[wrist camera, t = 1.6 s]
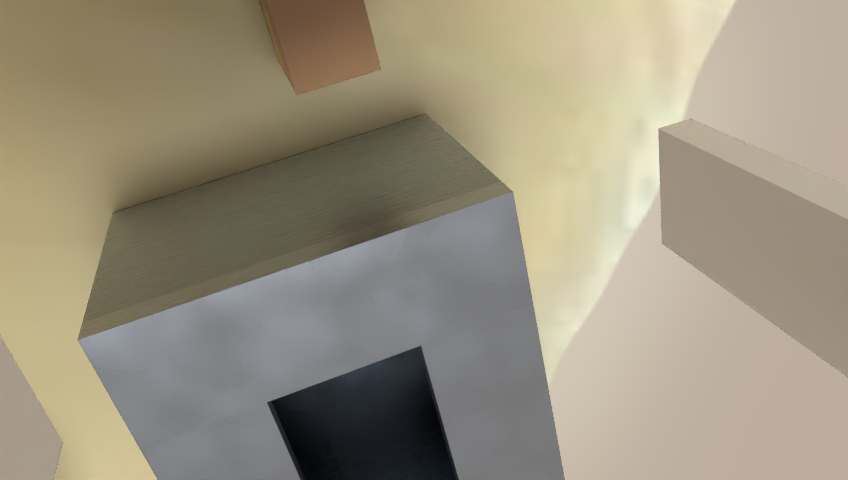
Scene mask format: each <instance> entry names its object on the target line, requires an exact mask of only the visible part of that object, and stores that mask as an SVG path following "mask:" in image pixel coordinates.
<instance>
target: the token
mask: <svg viewBox="0 0 848 480" xmlns="http://www.w3.org/2000/svg"><path fill="white" fill-rule="evenodd" d="M259 2H260V5H261V8H262V11H263V14H264V17H265V20H266V23H267V27H268V30H269V33H270V36H271V39H272V42H273V45H274V48H275V51H276V54H277V57H278V60H279V63H280V65H281V66H282V68H283V70H284V72H285V74H286V76H287V78H288V79H289V81H290V83H291V85H292V87H293V89H294V91H295V92H296V94H297V95H298V94H302V93H305V92H308V91H311V90H315V89H318V88H321V87H325V86H328V85H331V84H334V83H338V82H341V81H344V80H348V79H351V78H354V77H358V76H361V75H364V74H367V73H371V72H374V71H377V70H381V67H380V63H379V60H378V56H377V52H376V48H375V44H374V40H373V36H372V32H371V28H370V24H369V20H368V17H367V13H366V9H365V5H364V1H363V0H259Z"/></svg>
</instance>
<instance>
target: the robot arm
mask: <svg viewBox="0 0 848 480" xmlns="http://www.w3.org/2000/svg"><path fill="white" fill-rule="evenodd" d="M658 131H659V163H660V194H661V226H662V227H661V228H662V244H663V245H665V246H666V247H668V248H669V249H670V250H672V251H673V252H675V253H676V254H677V255H679V256H680V257H681V258H683V259H684V260H686V261H687V262H688V263H690V264H691V265H693V266H694V267H695V268H697V269H698V270H699V271H701V272H702V273H704V274H705V275H706V276H708V277H709V278H711V279H712V280H714V281H715V282H716V283H718V284H719V285H720V286H722V287H723V288H725V289H726V290H727V291H729V292H730V293H731V294H733V295H734V296H736V297H737V298H738V299H740V300H741V301H743V302H744V303H745V304H747V305H748V306H750V307H751V308H752V309H754V310H755V311H756V312H758V313H759V314H761V315H762V316H763V317H765V318H766V319H767V320H769V321H770V322H772V323H773V324H774V325H776V326H777V327H779V328H780V329H781V330H783V331H784V332H785V333H787V334H788V335H790V336H791V337H793V338H794V339H795V340H797V341H798V342H799V343H801V344H802V345H804V346H805V347H806V348H808V349H809V350H811V351H812V352H813V353H815V354H816V355H817V356H819V357H820V358H822V359H823V360H824V361H826V362H827V363H829V364H830V365H831V366H833V367H834V368H835V369H837V370H838V371H840V372H841V373H842V374H844V375H845V376H846V377H848V186H847V185H845V184H842V183H840V182H837V181H835V180H833V179H830V178H828V177H826V176H823V175H821V174H819V173H816V172H814V171H812V170H809V169H807V168H805V167H802V166H800V165H798V164H795V163H793V162H791V161H788V160H786V159H784V158H781V157H779V156H777V155H774V154H772V153H769V152H767V151H765V150H763V149H760V148H758V147H756V146H753V145H751V144H749V143H746V142H744V141H741V140H739V139H737V138H735V137H732V136H730V135H728V134H725V133H723V132H721V131H718V130H716V129H714V128H711V127H709V126H707V125H704V124H702V123H700V122H697V121H695V120H693V119H689V120H685V121H682V122H679V123H675V124H672V125H669V126H665V127H662V128H659V129H658ZM62 444H63V442H62V440H61V438H60V437H59V435H58V433H57V431H56V430H55V428H54V426H53V425H52V423H51V421H50V419H49V418H48V416H47V414H46V413H45V411H44V409H43V408H42V406H41V404H40V402H39V401H38V399H37V397H36V396H35V394H34V392H33V390H32V389H31V387H30V385H29V384H28V382H27V380H26V378H25V377H24V375H23V373H22V372H21V370H20V368H19V366H18V365H17V363H16V361H15V360H14V358H13V356H12V354H11V353H10V351H9V349H8V348H7V346H6V344H5V342H4V341H3V339H2V337H1V336H0V480H54V477H55V473H56V469H57V464H58V460H59V456H60V452H61V448H62Z"/></svg>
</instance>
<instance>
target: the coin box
mask: <svg viewBox="0 0 848 480" xmlns="http://www.w3.org/2000/svg"><path fill="white" fill-rule="evenodd" d="M78 341H79V343H80V345H81V347H82V348H83V350H84V352H85V354H86V355H87V357H88V359H89V361H90V362H91V364H92V366H93V368H94V369H95V371H96V373H97V375H98V376H99V378H100V380H101V382H102V383H103V385H104V387H105V389H106V390H107V392H108V394H109V395H110V397H111V399H112V401H113V402H114V404H115V406H116V408H117V409H118V411H119V413H120V415H121V416H122V418H123V420H124V422H125V423H126V425H127V427H128V429H129V430H130V432H131V434H132V436H133V437H134V439H135V441H136V443H137V444H138V446H139V448H140V450H141V451H142V453H143V455H144V457H145V458H146V460H147V462H148V464H149V465H150V467H151V469H152V470H153V472H154V474H155V476H156V477H157V479H158V480H565V479H564V473H563V468H562V462H561V456H560V451H559V446H558V440H557V434H556V429H555V423H554V418H553V412H552V406H551V402H550V395H549V390H548V384H547V379H546V373H545V368H544V362H543V356H542V351H541V345H540V340H539V334H538V329H537V323H536V318H535V312H534V306H533V301H532V295H531V290H530V284H529V279H528V273H527V268H526V262H525V256H524V251H523V245H522V240H521V234H520V229H519V223H518V217H517V212H516V206H515V201H514V195H513V191H511V190H510V189H509V188H508V187H507V186H506V185H505V184H504V183H503V182H501V181H500V180H499V179H498V178H497V177H496V176H495V175H494V174H493V173H491V172H490V171H489V170H488V169H487V168H486V167H485V166H484V165H482V164H481V163H480V162H479V161H478V160H477V159H476V158H475V157H474V156H472V155H471V154H470V153H469V152H468V151H467V150H466V149H465V148H463V147H462V146H461V145H460V144H459V143H458V142H457V141H456V140H455V139H453V138H452V137H451V136H450V135H449V134H448V133H447V132H446V131H444V130H443V129H442V128H441V127H440V126H439V125H438V124H437V123H436V122H434V121H433V120H432V119H431V118H430V117H429V116H428V115H427V114H424V115H421V116H417V117H414V118H411V119H408V120H405V121H402V122H398V123H395V124H392V125H389V126H386V127H383V128H379V129H376V130H373V131H370V132H367V133H364V134H360V135H357V136H354V137H351V138H348V139H345V140H342V141H338V142H335V143H332V144H329V145H326V146H323V147H319V148H316V149H313V150H310V151H307V152H304V153H300V154H297V155H294V156H291V157H288V158H285V159H281V160H278V161H275V162H272V163H269V164H266V165H263V166H259V167H256V168H253V169H250V170H247V171H244V172H240V173H237V174H234V175H231V176H228V177H225V178H221V179H218V180H215V181H212V182H209V183H206V184H202V185H199V186H196V187H193V188H190V189H187V190H184V191H180V192H177V193H174V194H171V195H168V196H165V197H161V198H158V199H155V200H152V201H149V202H146V203H142V204H139V205H136V206H133V207H130V208H127V209H123V210H120V211H117V212H114V213H113V214H112V218H111V222H110V225H109V229H108V232H107V236H106V240H105V243H104V247H103V251H102V254H101V258H100V261H99V265H98V269H97V272H96V276H95V279H94V283H93V287H92V290H91V294H90V298H89V301H88V305H87V308H86V312H85V316H84V319H83V323H82V326H81V330H80V334H79V337H78Z"/></svg>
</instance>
